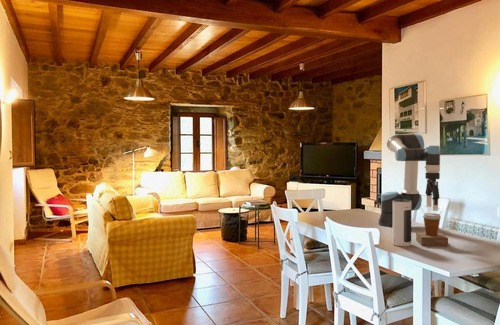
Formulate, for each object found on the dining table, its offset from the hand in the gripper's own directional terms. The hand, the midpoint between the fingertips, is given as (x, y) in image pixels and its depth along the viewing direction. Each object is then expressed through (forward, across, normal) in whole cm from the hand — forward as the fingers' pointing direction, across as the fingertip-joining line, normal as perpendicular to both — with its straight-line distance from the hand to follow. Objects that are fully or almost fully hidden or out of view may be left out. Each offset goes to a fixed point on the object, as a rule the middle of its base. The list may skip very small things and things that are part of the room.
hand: (431, 208), depth 238 cm
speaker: (+21, +5, -18) cm, 28 cm away
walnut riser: (+20, 0, 0) cm, 20 cm away
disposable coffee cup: (+16, 0, 0) cm, 16 cm away
